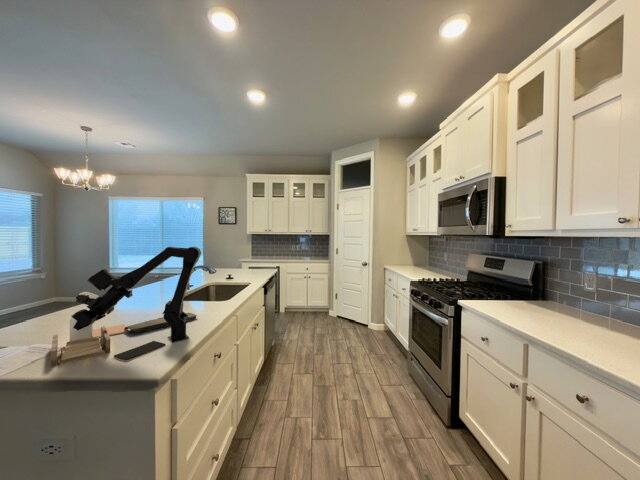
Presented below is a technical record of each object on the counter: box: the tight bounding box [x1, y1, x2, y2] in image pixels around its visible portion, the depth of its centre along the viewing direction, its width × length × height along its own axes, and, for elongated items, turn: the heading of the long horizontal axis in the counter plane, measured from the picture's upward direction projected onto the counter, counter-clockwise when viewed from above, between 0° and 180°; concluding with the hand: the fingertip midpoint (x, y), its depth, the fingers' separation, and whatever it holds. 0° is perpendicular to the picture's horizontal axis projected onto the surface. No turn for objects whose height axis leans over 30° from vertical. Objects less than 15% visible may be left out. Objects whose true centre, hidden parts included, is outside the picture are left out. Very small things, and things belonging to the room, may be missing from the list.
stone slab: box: [124, 312, 198, 333], centre depth 127 cm, size 10×3×30 cm
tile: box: [92, 323, 130, 339], centre depth 116 cm, size 12×12×1 cm
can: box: [69, 315, 93, 341], centre depth 101 cm, size 6×6×12 cm
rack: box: [50, 325, 111, 367], centre depth 98 cm, size 19×15×5 cm
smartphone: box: [112, 340, 166, 362], centre depth 98 cm, size 7×1×15 cm
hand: (76, 328), depth 100 cm, fingers closed on can, 5 cm apart
